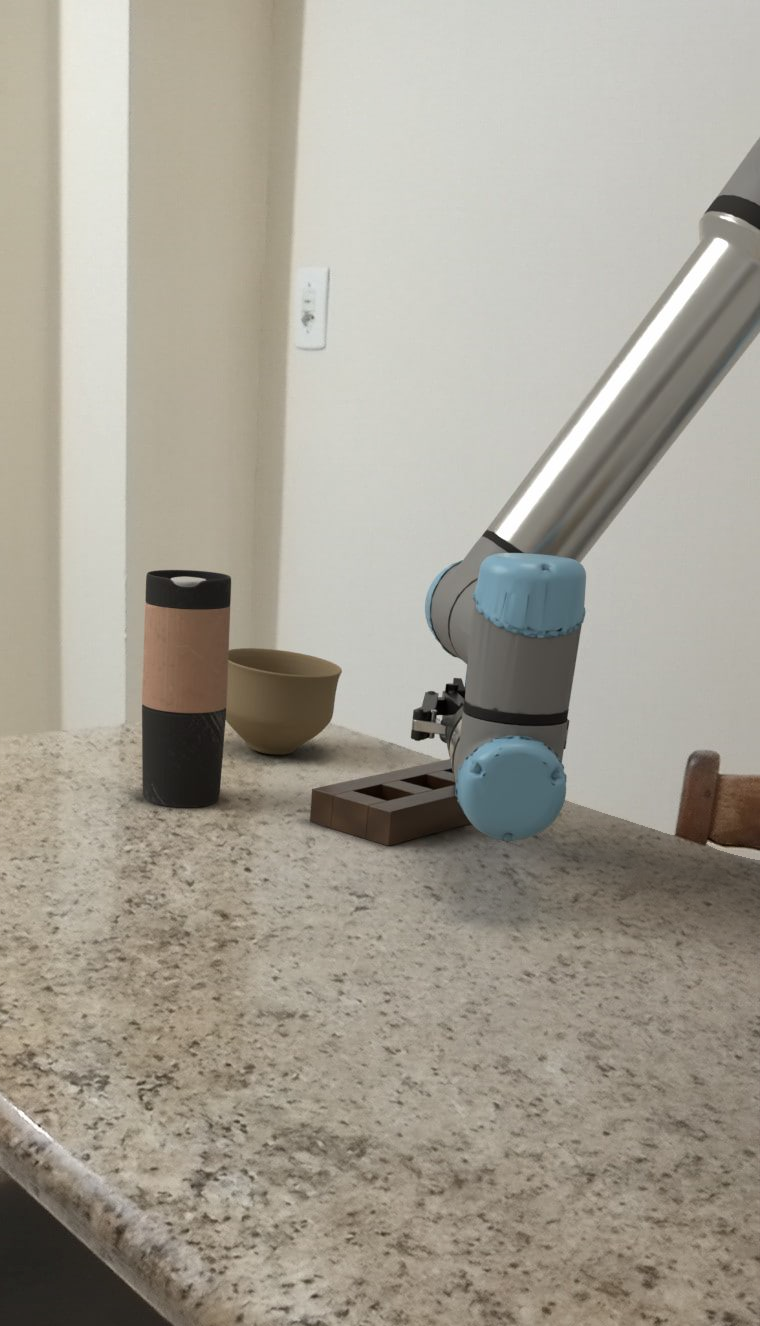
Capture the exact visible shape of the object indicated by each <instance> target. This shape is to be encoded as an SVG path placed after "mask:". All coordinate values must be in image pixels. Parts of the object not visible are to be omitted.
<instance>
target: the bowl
mask: <svg viewBox="0 0 760 1326" xmlns="http://www.w3.org/2000/svg"><path fill="white" fill-rule="evenodd" d="M342 673H343V671H342V668H341V667H340V666H339V665H338V664H336V663H334V662H332V661H330V660H326V659H324V658H320V657H317V656H314V655H309V654H304V653H300V652H294V651H289V650H281V649H272V648H259V647H258V648H256V647H248V648H246V647H242V648H241V647H240V648H231V649H229V655H228V682H227V706H226V721H225V722H226V723H227V724H228V725H229V726H230V728H231V729H232V730H233V731H235V732H236V734H237V735H238V736H239V737H240V738H241V739H243V741H244V744H245V746H246V747H248V748H249V749H250V750H252V751H255V752H257V753H262V754H267V755H273V756H274V755H275V756H283V755H289V754H292V753H294V752H295V751H296V749H297V748H298V747H300V746H302V745H304V744H306V743H307V742H309V741H311V740H312V739H314V738H315V737H317V736H318V735H320V734H321V733H322V732H323V731H324V729H326V728H327V726H328V725H329V724H330V723H331V721H332V719H333V716H334V712H335V711H334V710H335V701H336V694H337V689H338V684H339V679H340V677H341V675H342Z"/></svg>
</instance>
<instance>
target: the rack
mask: <svg viewBox="0 0 760 1326" xmlns="http://www.w3.org/2000/svg"><path fill="white" fill-rule="evenodd" d="M455 787H456V783H455V778H454V773H453V770H452V765H451V760H450V758H448V759H444V760H439V761H434V762H429V763H426V764H419V765H415V766H411V767H406V768H402V769H398V770H393V771H389V772H383V773H379V774H374V775H369V776H365V777H360V778H356V779H352V780H347V781H341V782H338V783H337V782H336V783H332V784H328V785H324V786H318V787H315V788H312V789H311V799H310V813H309V822H310V823H313V824H317V825H319V826H323V827H325V828H329V829H333V830H337V831H339V832H343V833H346V834H349V835H351V836H356V837H358V838H361V839H364V840H368V841H372V842H375V843H378V844H381V845H384V846H393V845H397V844H399V843H405V842H407V841H412V840H415V839H417V838H422V837H426V836H430V835H434V834H437V833H440V832H444V831H448V830H452V829H455V828H459V827H462V826H467V825H470V824H472V823H471V822H470V821H469V820H468V818H467V816H466V815H465V814H464V813H463V811H462V810H461V807H460V804H459V803H458V801H457V800H458V798H457V797H456V795H455Z"/></svg>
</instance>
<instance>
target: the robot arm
mask: <svg viewBox="0 0 760 1326" xmlns="http://www.w3.org/2000/svg"><path fill="white" fill-rule="evenodd" d="M698 241H699V243H698V244H697V246H696V247H695V249H694V250H693V251H692V253H690V255H689V257H688V258H687V259H686V260H685V262H684V263H683V264H682V266H681V268H680V269H679V270H678V272H677V273H676V274H675V276H674V277H673V278H672V280H671V281H669V284H668V285H667V286H666V288H665V289H664V290H663V292H662V293H661V294H660V295H659V297H658V298H657V299H656V301H655V302H654V304H653V305H652V306H651V308H650V309H649V310H648V311H647V313H646V315H645V316H644V317H643V319H642V320H641V321H640V323H638V325H637V326H636V328H635V329H634V331H633V332H632V333H631V335H629V337H628V339H627V340H626V341H625V343H624V344H623V345H622V347H621V348H620V349H619V350H618V352H617V353H616V354H615V356H614V357H613V359H612V360H611V361H610V362H609V364H608V365H607V367H606V368H605V369H604V370H603V372H602V373H601V375H600V376H599V377H598V379H597V380H596V381H595V383H594V384H593V386H592V387H591V388H590V389H589V391H588V393H587V394H586V395H585V396H584V397H583V399H582V400H581V402H580V403H579V404H578V406H577V407H576V408H575V410H574V411H573V413H572V414H571V415H570V416H569V418H568V419H567V421H566V422H565V423H564V425H563V426H562V427H561V429H560V430H559V431H558V433H557V434H556V435H555V436H554V438H553V439H552V440H551V442H550V443H549V445H548V446H547V447H546V449H545V450H544V452H542V454H541V456H540V457H539V458H538V459H537V461H536V462H535V464H534V465H533V466H532V467H531V469H530V470H529V472H528V473H527V474H526V476H525V477H524V478H523V480H522V481H521V482H520V483H519V485H518V486H517V488H515V490H514V491H513V494H512V495H510V497H509V498H508V500H507V501H506V502H505V504H504V505H503V507H502V508H501V509H500V511H499V512H498V513H497V515H496V516H495V517H494V518H493V520H492V522H491V523H490V524H489V526H488V527H487V528H486V529H485V531H484V532H483V534H482V535H481V536H480V537H479V538H478V540H477V541H476V542H475V543H474V545H473V546H472V547H471V549H470V550H469V551H468V553H467V554H466V555H465V556H464V558H463V559H461V560H458V561H456V562H454V563H452V564H450V565H448V566H447V567H445V568H444V569H442V570H441V571H440V572H439V573H438V574H437V575H436V576H435V577H434V579H433V580H432V582H431V583H430V585H429V587H428V590H427V593H426V597H425V600H424V601H425V604H424V615H425V620H426V624H427V626H428V628H429V630H430V632H431V633H432V635H433V636H434V639H435V640H436V641H437V642H438V643H439V644H440V646H441V648H442V650H444V651H445V652H446V653H447V654H449V656H451V657H454V658H457V659H459V660H461V661H463V663H465V664H466V666H467V665H468V669H467V668H466V671H467V680H466V679H465V680H466V690H465V689H464V688H465V683H464V681H463V678H462V677H453V679H452V683H451V682H450V683H446V684H445V687H444V690H443V691H442V692H441V696H439V692H436V691H434V690H428V691H425V692H424V696H423V701H422V703H421V706H420V707H417V708H415V709H413V710H412V721H411V731H410V732H411V733H410V739H411V740H414V741H415V742H420V741H425V740H427V739H431V740H433V739H435V737H436V735H438V736H439V739H440V741H441V742H443V743H444V744H446V748H447V752H448V756H449V759H450V760H451V765H452V770H453V773H454V778H455V783H456V787H455V795H456V797H457V798H458V800H457V801H458V803H459V804H460V807H461V810H462V811H463V813H464V814H465V815H466V816H467V818H468V820H469V821H470V822H471V823H470V824H471V825H472V826H473V827H474V828H475V829H476V830H477V831H479V832H480V833H482V834H483V835H485V836H487V837H489V838H491V839H493V840H494V839H495V840H499V841H503V842H516V841H523V840H527V839H530V838H532V837H535V836H537V835H539V834H541V833H543V832H544V831H545V830H546V829H547V828H549V827H550V826H551V825H553V823H554V822H555V821H556V819H557V818H558V816H559V815H560V813H561V811H562V810H563V806H564V804H565V801H566V796H567V774H566V773H565V766H564V764H563V757H564V750H566V748H567V742H568V741H567V740H568V735H569V727H570V719H568V718H569V710H570V702H571V696H572V690H573V683H574V676H575V670H576V666H577V664H576V663H577V658H578V651H579V645H580V638H581V634H582V633H581V632H582V625H583V623H584V622H585V617H586V607H585V603H586V602H585V601H586V588H587V587H586V586H587V571H586V570H585V567H584V565H583V564H582V561H583V560H585V559H584V558H585V557H586V556H587V555H588V553H590V551H591V550H592V548H594V546H595V545H596V543H597V542H598V541H599V540H600V538H601V537H602V536H603V534H604V533H605V532H606V531H607V529H608V528H609V527H610V525H611V524H612V523H613V522H614V520H615V519H616V518H617V517H618V515H619V514H620V512H621V511H622V510H623V509H624V507H625V506H626V505H627V504H628V503H629V501H630V500H631V498H632V497H634V495H635V493H636V492H637V491H638V489H639V488H640V487H641V486H642V484H643V483H644V482H645V481H646V479H648V477H649V476H650V474H651V473H652V471H653V470H654V469H655V468H656V467H657V465H658V464H659V462H660V461H661V460H662V459H663V457H664V456H665V455H666V454H667V452H668V451H669V450H670V449H671V447H672V446H673V445H674V443H675V442H676V441H677V439H678V438H679V437H680V436H681V434H682V433H683V432H684V431H685V429H686V428H687V427H688V425H690V423H691V422H692V420H693V419H694V418H695V416H696V415H697V413H698V412H700V410H701V409H702V407H704V405H705V403H707V401H708V400H709V398H710V397H711V396H712V394H713V393H714V392H715V391H716V389H717V388H718V387H719V385H720V384H722V382H723V381H724V379H725V378H726V377H727V375H728V374H729V373H730V371H732V368H734V366H735V365H736V364H737V362H738V361H739V360H740V359H741V357H742V356H743V355H744V354H745V353H746V351H747V350H748V349H749V347H750V346H751V344H752V343H753V342H754V341H755V340H756V339H757V337H758V336H759V335H760V136H759V137H758V139H757V140H756V141H755V143H754V144H753V145H752V147H751V148H750V150H749V151H748V152H747V153H746V155H745V157H744V158H743V159H742V161H741V162H740V163H739V165H738V166H737V168H736V169H735V171H734V172H733V173H732V175H731V176H730V178H729V179H728V181H727V182H726V184H725V185H724V186H723V187H722V189H721V190H720V192H719V193H718V195H717V196H716V197H715V198H714V200H713V201H712V202H711V203H710V205H709V207H707V209H706V210H705V212H704V213H703V214H702V216H701V218H700V219H699V221H698ZM438 716H441V719H440V718H438Z"/></svg>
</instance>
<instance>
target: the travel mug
mask: <svg viewBox="0 0 760 1326" xmlns="http://www.w3.org/2000/svg"><path fill="white" fill-rule="evenodd" d="M145 578H146V579H145V599H144V600H145V602H144V603H145V604H144V627H143V628H144V630H143V633H144V635H143V656H142V657H143V661H142V664H143V665H142V691H141V755H142V756H141V762H142V764H141V766H142V767H141V769H142V772H141V776H142V780H141V781H142V797H143V798H144V800H146V801H147V802H150V803H151V804H154V805H159V806H164V807H170V808H200V807H207V806H211V805H214V804H215V803H217V802H218V801H219V800H220V793H221V783H222V772H223V770H222V769H223V757H224V747H225V745H224V744H225V733H226V732H225V731H226V722H227V721H226V706H227V682H228V655H229V650H230V628H231V627H230V624H231V623H230V622H231V620H230V619H231V600H232V577H231V576H230V575H229V574H226V573H220V572H215V571H207V570H195V569H193V570H192V569H191V570H190V569H159V570H151V571H148V572H146V577H145Z"/></svg>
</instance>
